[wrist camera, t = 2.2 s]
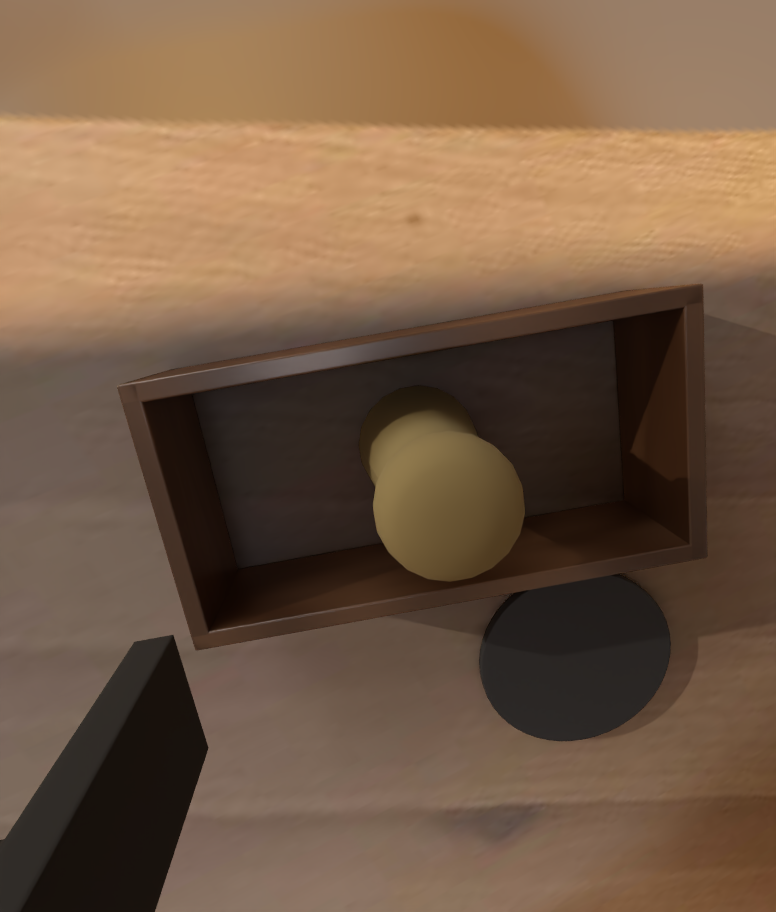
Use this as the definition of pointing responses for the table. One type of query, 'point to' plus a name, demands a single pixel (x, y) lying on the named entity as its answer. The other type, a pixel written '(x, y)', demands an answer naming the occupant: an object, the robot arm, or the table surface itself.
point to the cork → (439, 486)
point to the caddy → (372, 567)
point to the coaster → (574, 657)
